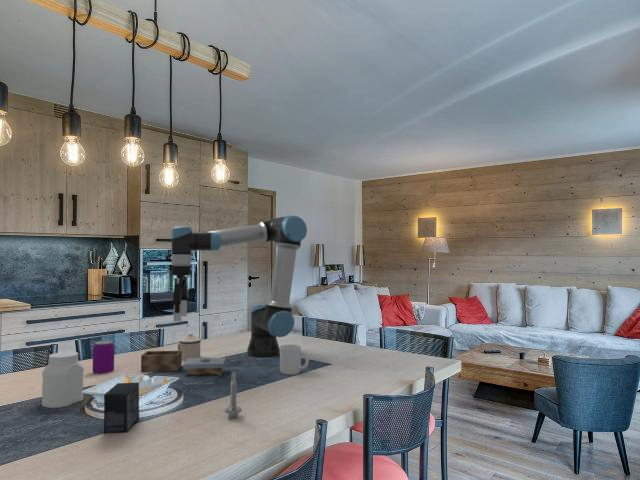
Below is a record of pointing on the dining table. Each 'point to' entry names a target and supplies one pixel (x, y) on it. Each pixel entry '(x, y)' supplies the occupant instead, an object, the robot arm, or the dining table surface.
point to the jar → (62, 380)
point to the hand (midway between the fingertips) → (180, 318)
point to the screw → (233, 399)
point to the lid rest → (206, 371)
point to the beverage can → (103, 357)
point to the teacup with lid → (189, 347)
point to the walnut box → (161, 361)
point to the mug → (292, 359)
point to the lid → (204, 363)
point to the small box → (121, 407)
